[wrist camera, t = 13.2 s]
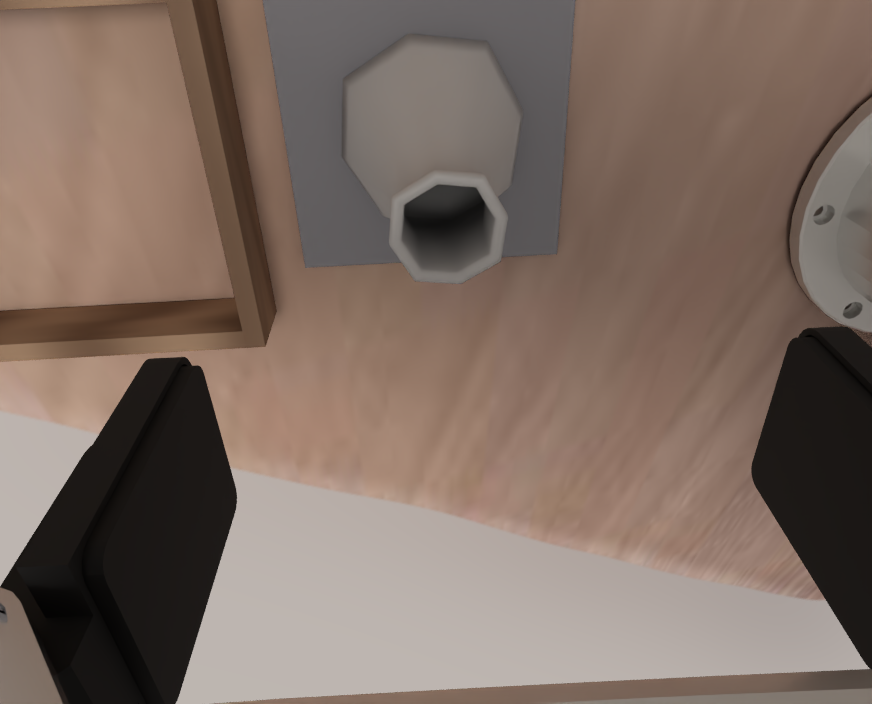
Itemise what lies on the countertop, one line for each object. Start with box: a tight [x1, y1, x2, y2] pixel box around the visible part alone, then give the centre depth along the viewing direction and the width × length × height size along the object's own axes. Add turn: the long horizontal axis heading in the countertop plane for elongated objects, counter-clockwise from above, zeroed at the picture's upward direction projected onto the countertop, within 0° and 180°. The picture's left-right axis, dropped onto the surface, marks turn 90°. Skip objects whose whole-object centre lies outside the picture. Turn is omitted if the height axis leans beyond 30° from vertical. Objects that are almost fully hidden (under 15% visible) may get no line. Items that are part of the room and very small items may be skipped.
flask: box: [341, 34, 524, 284], centre depth 21 cm, size 7×7×10 cm
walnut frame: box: [0, 0, 276, 362], centre depth 25 cm, size 14×14×3 cm
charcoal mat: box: [263, 0, 575, 268], centre depth 26 cm, size 11×11×1 cm
